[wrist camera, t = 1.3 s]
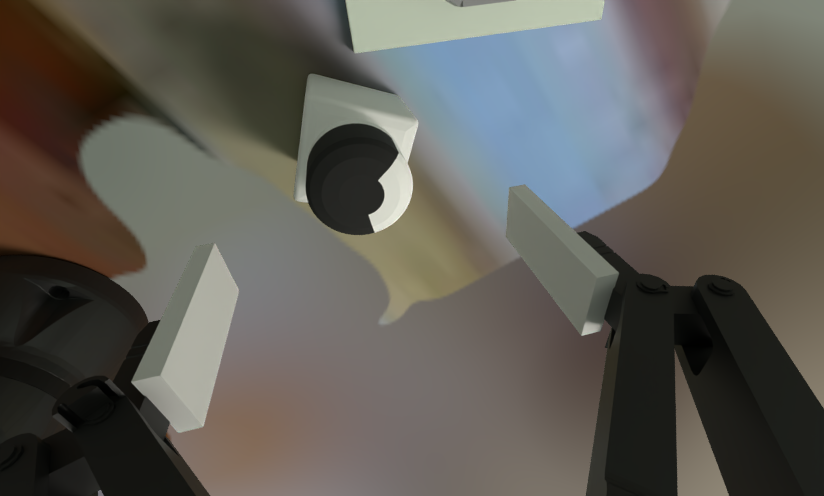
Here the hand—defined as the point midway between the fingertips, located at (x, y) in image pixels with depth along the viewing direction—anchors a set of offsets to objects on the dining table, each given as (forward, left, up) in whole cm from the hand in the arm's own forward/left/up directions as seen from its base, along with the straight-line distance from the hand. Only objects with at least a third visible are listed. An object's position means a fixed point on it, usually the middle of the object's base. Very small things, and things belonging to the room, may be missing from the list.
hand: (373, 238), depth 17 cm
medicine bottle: (0, 0, -17) cm, 17 cm away
